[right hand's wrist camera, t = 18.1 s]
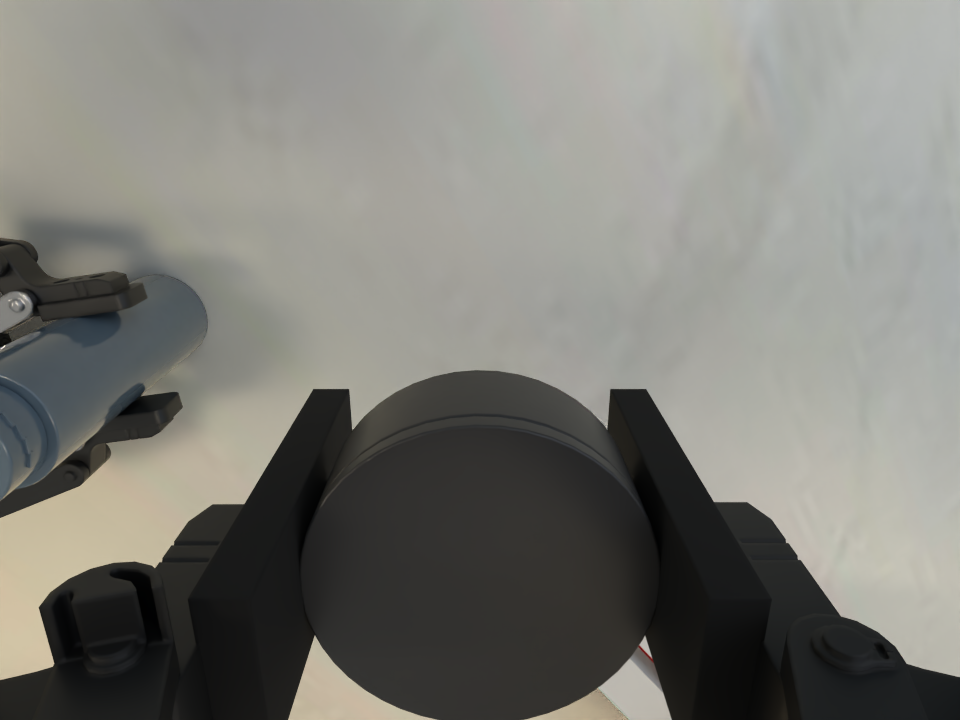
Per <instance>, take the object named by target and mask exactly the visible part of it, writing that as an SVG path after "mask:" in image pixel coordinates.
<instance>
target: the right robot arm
mask: <svg viewBox="0 0 960 720" xmlns="http://www.w3.org/2000/svg"><path fill="white" fill-rule="evenodd" d="M351 432H352V422H351V409H350V395H349V389H313V391H312V393H311V394H310V396H309V398H308V399H307V401H306V403H305V404H304V406H303V408H302V409H301V411H300V413H299V414H298V416H297V418H296V419H295V421H294V423H293V424H292V426H291V428H290V429H289V431H288V433H287V434H286V436H285V438H284V439H283V441H282V443H281V444H280V446H279V448H278V449H277V451H276V453H275V454H274V456H273V458H272V459H271V461H270V463H269V464H268V466H267V468H266V469H265V471H264V473H263V474H262V476H261V478H260V479H259V481H258V483H257V484H256V486H255V488H254V489H253V491H252V493H251V494H250V496H249V498H248V499H247V501H246V503H245V504H213V505H211V506H210V507H208V508H207V509H206V510H204V511H203V512H201V513H200V514H199V515H197V516H196V517H194V518H193V519H191V520H190V521H189V522H188V523H187V524H186V526H185V527H184V529H183V530H182V531H181V533H180V534H179V536H178V537H177V539H176V540H175V541H174V546H171V547H170V548H169V550H168V551H167V553H166V554H165V555H164V557H163V560H162V562H159V564H158V565H157V567H156V568H154V567H153V566H151V565H147V564H142V563H138V562H122V563H112V564H108V565H104V566H100V567H96V568H92V569H90V570H87V571H85V572H83V573H81V574H79V575H77V576H74V577H72V578H70V579H68V580H67V581H65V582H64V583H63V584H61V585H60V586H59V587H57V588H56V589H54V590H53V591H52V592H50V594H49V595H48V596H47V597H46V599H45V600H44V601H43V603H42V604H41V605H40V607H39V610H40V613H41V617H42V621H43V624H44V628H45V631H46V635H47V638H48V642H49V646H50V649H51V653H52V656H53V660H54V666H53V667H51V668H48V669H44V670H41V671H38V672H34V673H29V674H25V675H21V676H16V677H12V678H8V679H3V680H0V720H288V718H289V715H290V712H291V708H292V705H293V702H294V699H295V696H296V693H297V689H298V686H299V683H300V680H301V677H302V674H303V670H304V667H305V664H306V661H307V658H308V655H309V651H310V648H311V645H312V642H313V639H314V636H315V634H314V632H313V631H312V628H311V626H310V623H309V621H308V618H307V616H306V613H305V610H304V605H303V599H302V591H301V582H300V557H301V550H302V546H303V543H304V539H305V535H306V532H307V529H308V527H309V524H310V522H311V520H312V517H313V515H314V512H315V510H316V508H317V505H318V503H319V500H320V498H321V496H322V493H323V491H324V488H325V486H326V483H327V481H328V479H329V476H330V474H331V471H332V469H333V467H334V464H335V462H336V460H337V457H338V455H339V453H340V450H341V448H342V446H343V445H344V443H345V441H346V440H347V438H348V437H349V435H350V433H351ZM608 432H609V433H610V435H611V436H612V437H613V439H614V440H615V442H616V444H617V446H618V448H619V450H620V452H621V454H622V456H623V458H624V460H625V463H626V465H627V468H628V470H629V473H630V475H631V477H632V480H633V482H634V485H635V487H636V489H637V492H638V494H639V497H640V499H641V501H642V504H643V506H644V509H645V511H646V514H647V516H648V518H649V521H650V523H651V526H652V529H653V532H654V535H655V538H656V541H657V544H658V550H659V556H660V562H661V568H660V579H659V588H658V597H657V605H656V610H655V613H654V616H653V619H652V622H651V624H650V626H649V628H648V630H647V633H646V635H645V637H646V640H647V643H648V646H649V649H650V653H651V656H652V659H653V662H654V665H655V669H656V672H657V675H658V678H659V681H660V684H661V688H662V691H663V694H664V697H665V700H666V703H667V707H668V710H669V713H670V716H671V719H672V720H960V677H956V676H952V675H947V674H943V673H939V672H934V671H930V670H926V669H922V668H918V667H915V666H912V665H908V664H906V662H905V661H904V659H903V658H902V656H901V655H900V653H899V652H898V650H897V649H896V647H895V646H894V645H893V644H891V643H890V642H889V641H888V640H887V639H885V638H884V637H883V636H882V635H881V634H879V633H878V632H876V631H875V630H873V629H871V628H869V627H867V626H865V625H863V624H861V623H859V622H857V621H854V620H851V619H848V618H844V617H841V616H840V615H839V613H838V612H837V610H836V609H835V608H834V606H833V605H832V603H831V602H830V601H829V599H828V598H827V596H826V595H825V594H824V592H823V591H822V589H821V588H820V587H819V585H818V584H817V582H816V581H815V580H814V578H813V577H812V575H811V574H810V573H809V571H808V570H807V568H806V567H805V566H804V564H803V563H802V562H801V560H798V558H797V555H796V553H795V552H794V550H793V549H792V548H791V546H790V545H789V543H786V539H785V538H784V536H783V535H782V534H781V532H780V531H779V529H778V528H777V527H776V525H775V524H774V522H773V521H772V520H771V519H770V518H769V517H767V516H766V515H764V514H763V513H762V512H760V511H759V510H757V509H756V508H754V507H753V506H752V505H750V504H749V503H747V502H713V500H712V498H711V497H710V495H709V493H708V492H707V490H706V488H705V487H704V485H703V483H702V482H701V480H700V478H699V477H698V475H697V473H696V472H695V470H694V468H693V467H692V465H691V463H690V462H689V460H688V458H687V457H686V455H685V453H684V452H683V450H682V448H681V447H680V445H679V443H678V442H677V440H676V438H675V437H674V435H673V433H672V432H671V430H670V428H669V427H668V425H667V423H666V422H665V420H664V418H663V417H662V415H661V413H660V412H659V410H658V408H657V407H656V405H655V403H654V402H653V400H652V398H651V397H650V395H649V393H648V392H647V390H646V389H610V403H609V417H608Z"/></svg>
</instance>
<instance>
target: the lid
mask: <svg viewBox="0 0 960 720" xmlns="http://www.w3.org/2000/svg"><path fill="white" fill-rule="evenodd" d="M660 568H661V562H660V556H659V550H658V544H657V541H656V538H655V535H654V532H653V529H652V526H651V523H650V521H649V518H648V516H647V514H646V511H645V509H644V506H643V504H642V501H641V499H640V497H639V494H638V492H637V489H636V487H635V485H634V482H633V480H632V477H631V475H630V473H629V470H628V468H627V465H626V463H625V460H624V458H623V456H622V454H621V452H620V450H619V448H618V446H617V444H616V442H615V440H614V439H613V437H612V436H611V435H610V433H609V432H608V430H607V429H606V428H605V426H604V425H603V424H602V423H601V422H600V421H599V420H598V419H597V418H596V417H595V416H594V414H593V413H592V412H591V411H589V410H588V409H587V408H586V407H584V406H583V405H582V404H581V403H579V402H578V401H577V400H576V399H574V398H572V397H571V396H569V395H567V394H566V393H564V392H562V391H561V390H559V389H557V388H555V387H553V386H550V385H548V384H546V383H543V382H541V381H539V380H536V379H532V378H529V377H525V376H522V375H518V374H512V373H506V372H500V371H480V370H474V371H462V372H453V373H448V374H443V375H439V376H434V377H431V378H428V379H425V380H422V381H419V382H417V383H414V384H412V385H410V386H408V387H406V388H404V389H402V390H400V391H398V392H396V393H394V394H393V395H391V396H390V397H388V398H387V399H385V400H384V401H382V402H381V403H379V404H378V405H377V406H376V407H375V408H373V409H372V410H371V411H370V412H369V413H368V414H367V415H366V416H364V418H363V419H362V420H361V421H360V422H359V423H358V425H357V426H356V427H355V428H354V429H353V431H352V432H351V433H350V435H349V437H348V438H347V440H346V441H345V443H344V445H343V446H342V448H341V450H340V453H339V455H338V457H337V460H336V462H335V464H334V467H333V469H332V471H331V474H330V476H329V479H328V481H327V483H326V486H325V488H324V491H323V493H322V496H321V498H320V500H319V503H318V505H317V508H316V510H315V512H314V515H313V517H312V520H311V522H310V524H309V527H308V529H307V532H306V535H305V539H304V543H303V546H302V550H301V557H300V582H301V591H302V599H303V605H304V610H305V613H306V616H307V618H308V621H309V623H310V626H311V628H312V631H313V632H314V634H315V636H316V638H317V639H318V641H319V643H320V645H321V646H322V648H323V649H324V650H325V652H326V653H327V654H328V656H329V657H330V658H331V659H332V661H333V662H334V663H335V664H336V665H337V666H338V667H339V668H340V669H341V670H342V671H343V672H344V673H345V674H346V675H347V676H348V677H349V678H350V679H352V680H353V681H354V682H356V683H357V684H358V685H359V686H361V687H362V688H363V689H365V690H366V691H368V692H369V693H371V694H373V695H374V696H376V697H378V698H379V699H381V700H383V701H385V702H387V703H389V704H391V705H394V706H396V707H398V708H400V709H403V710H406V711H408V712H411V713H414V714H417V715H420V716H424V717H428V718H433V719H437V720H524V719H529V718H532V717H536V716H539V715H543V714H547V713H550V712H552V711H555V710H557V709H560V708H562V707H565V706H567V705H569V704H571V703H573V702H575V701H577V700H579V699H581V698H583V697H585V696H586V695H588V694H589V693H591V692H592V691H594V690H595V689H597V688H598V687H600V686H601V685H603V684H604V683H605V682H606V681H607V680H609V679H610V678H611V677H612V676H613V675H614V674H616V673H617V672H618V671H619V670H620V669H621V668H622V666H623V665H624V664H625V663H626V662H627V661H628V660H629V659H630V658H631V656H632V655H633V654H634V652H635V651H636V649H637V648H638V646H639V645H640V643H641V642H642V640H643V639H644V637H645V635H646V633H647V630H648V628H649V626H650V624H651V622H652V619H653V616H654V613H655V610H656V605H657V597H658V588H659V579H660Z"/></svg>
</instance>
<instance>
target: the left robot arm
mask: <svg viewBox="0 0 960 720" xmlns="http://www.w3.org/2000/svg"><path fill="white" fill-rule="evenodd" d="M37 260H38V254H37V251H36V249H35V248H34V247H33V246H32V245H31V244H30V243H28V242H26V241H22V240H13V239H4V238H0V292H1V293H2V294H3V296H2V297H0V347H2V346H4V345H6V344H8V343H10V342H12V341H11V339H10V336H9V334H8V332H10V331H12V330H13V329H15V328H17V327H19V326H20V325H22V324H24V323H26V322H28V321H29V320H31V319H33V318H34V317H35V316H41V318H42V320H43V321H50V320H58V319H63V318H72V317H79V316H86V315H93V314H100V313H107V312H114V311H120V310H124V309H128V308H131V307H133V306H135V305H137V304H138V303H140V302H142V301H144V300H145V299H147V298H148V297H147V294H146V291H145V287H144V284H143V283H142V282H139V283H131V284H129V282H128V279H127V276H126V274H123V273H118V272H114V271H113V272H106V273H99V274H93V275H85V276H78V277H71V278H64V279H56V278H52V277H50V276H48V275H47V274H46V273H44V272H43V270H42V269H41V268H40V267H39V265H38V264H37V263H36V262H37ZM6 333H7V334H6ZM182 407H183V406H182V403H181V400H180V397H179V394H178V392H170V393H162V394H155V395H147V396H140V397H139V398H138V399H136V400H135V401H134V402H133V403H132V404H131V405H129V406H128V407H127V408H126V409H125V410H123V411H122V412H121V413H120V414H119V415H118V416H116V417H115V418H114V419H113V420H112V421H110V422H109V423H108V424H107V425H106V426H105V427H103V428H102V429H101V430H100V431H99V432H98V433H96V434H95V435H94V436H93V437H92V438H90V439H89V440H88V441H87V442H86V443H85V444H83V445H82V446H81V447H80V448H79V449H77V450H76V451H75V452H74V453H73V454H72V455H70V456H69V457H68V458H67V459H66V460H64V461H63V462H62V463H61V464H60V465H59V466H57V467H56V468H55V469H54V470H53V471H52V472H50V473H49V474H48V475H47V476H46V477H44V478H43V479H42V480H40V481H39V482H37V483H35V484H33V485H30V486H27V487H24V488H19V489H14V490H13V491H12V492H11V493H9V494H8V495H7V496H6V497H4V498H3V499H2V500H1V501H0V518H1V517H4V516H6V515H9V514H11V513H14V512H16V511H19V510H21V509H24V508H26V507H28V506H31V505H33V504H36V503H38V502H41V501H43V500H46V499H48V498H51V497H53V496H56V495H58V494H61V493H63V492H66V491H68V490H71V489H73V488H76V487H78V486H80V485H81V484H82V483H84V482H85V481H86V480H87V479H88V478H89V477H90V476H91V475H92V474H93V473H94V472H95V471H96V470H97V469H98V468H99V467H100V466H102V465H103V464H104V463H105V462H106V461H107V460H108V459H109V458H110V455H111V450H110V448H109V446H108V445H107V444H106V443H110V442H117V441H125V440H130V439H131V440H133V439H138V438H148V437H152V436H154V435H156V434H157V433H159V432H161V431H162V430H163V429H164V428H165V427H166V426H167V425H168V424H169V423H170V422H171V421H172V420H173V417H174V416H175V415H176V414H177V413H178V412H179V411H180V410H181V409H182Z"/></svg>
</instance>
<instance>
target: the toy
mask: <svg viewBox="0 0 960 720" xmlns="http://www.w3.org/2000/svg"><path fill="white" fill-rule="evenodd" d="M598 689H599V690H600V691H601V692H602V693H603V694H604V695H605V696H606V697H607V698H608V699H609V700H610V701H611V702H612V703H613V704H614V705H615V706H616V707H617V708H618V709H619V710H620V711H621V712H622V713H623V714H624V715H625V716H626V717H627V718H628V719H629V720H672V719H671V716H670V713H669V710H668V707H667V703H666V700H665V697H664V694H663V691H662V688H661V684H660V681H659V678H658V675H657V672H656V669H655V665H654V662H653V659H652V656H651V653H650V649H649V646H648V643H647V640H646V637H644V639H643V640H642V642H641V643H640V645H639V646H638V648H637V649H636V651H635V652H634V654H633V655H632V656H631V658H630V659H629V660H628V661H627V662H626V663H625V664H624V665H623V666H622V668H621V669H620V670H619V671H618V672H617V673H616V674H614V675H613V676H612V677H611V678H610V679H609V680H607V681H606V682H605V683H604V684H603V685H601V686H600V687H598Z"/></svg>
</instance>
